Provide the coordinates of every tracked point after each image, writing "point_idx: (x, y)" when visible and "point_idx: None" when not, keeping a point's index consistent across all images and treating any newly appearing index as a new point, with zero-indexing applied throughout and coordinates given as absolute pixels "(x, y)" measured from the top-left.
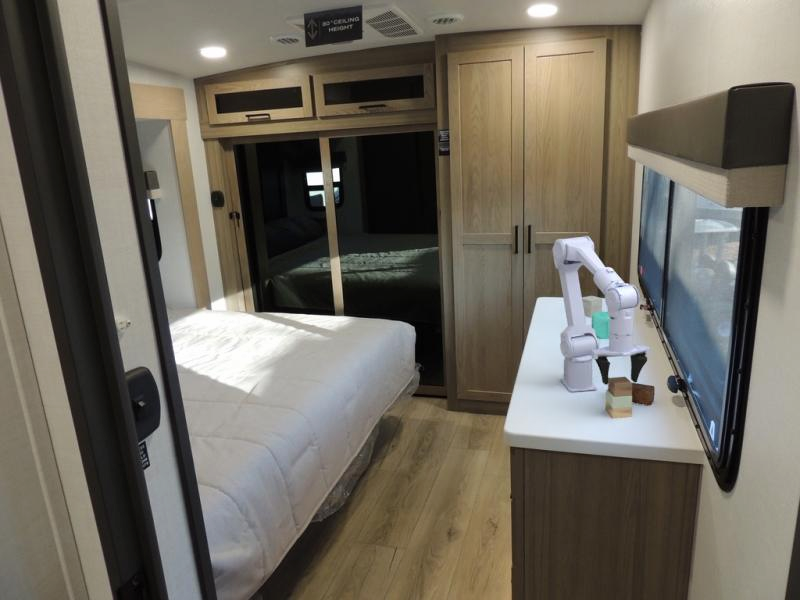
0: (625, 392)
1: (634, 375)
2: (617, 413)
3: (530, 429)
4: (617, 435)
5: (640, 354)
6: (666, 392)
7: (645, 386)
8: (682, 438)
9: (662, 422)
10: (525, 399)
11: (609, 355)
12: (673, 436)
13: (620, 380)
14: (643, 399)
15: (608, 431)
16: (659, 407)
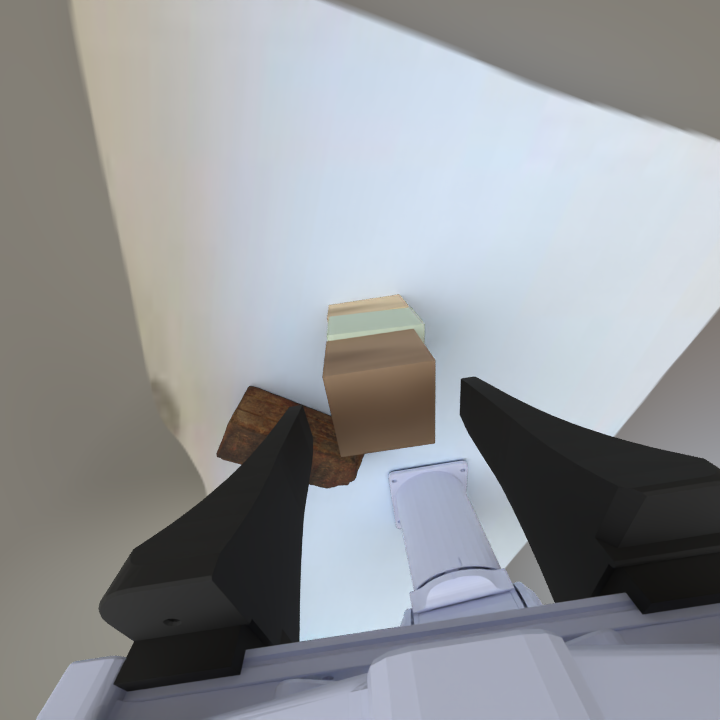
0: (360, 344)
1: (296, 439)
2: (384, 301)
3: None
4: (429, 124)
5: (182, 665)
6: (194, 464)
7: (249, 452)
8: (135, 69)
9: (220, 256)
10: (605, 420)
11: (596, 627)
12: (179, 99)
13: (381, 413)
14: (268, 404)
15: (452, 171)
16: (222, 375)
